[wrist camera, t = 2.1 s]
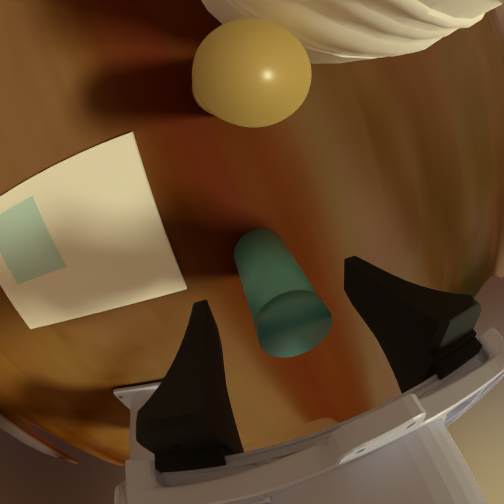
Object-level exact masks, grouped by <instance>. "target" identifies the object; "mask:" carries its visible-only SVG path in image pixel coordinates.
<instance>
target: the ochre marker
mask: <svg viewBox="0 0 504 504" xmlns="http://www.w3.org/2000/svg"><path fill="white" fill-rule="evenodd" d="M310 83H311V65H310V61H309V57H308V55H307V52H306V50H305V49H304V47H303V45H302V44H301V43H300V41H299V40H298V39H297V38H296V37H295V36H294V35H293V34H292V33H291V32H289V31H288V30H287V29H285V28H284V27H282V26H280V25H278V24H276V23H273V22H270V21H267V20H262V19H253V18H248V19H239V20H234V21H231V22H228V23H226V24H223V25H221V26H219V27H218V28H216V29H215V30H213V31H212V32H211V33H210V34H209V35H208V36H207V37H206V38H205V39H204V40H203V41H202V43H201V44H200V46H199V47H198V49H197V52H196V54H195V57H194V60H193V67H192V93H193V97H194V99H195V101H196V103H197V104H198V105H199V106H200V107H201V108H202V109H203V110H204V111H206V112H208V113H210V114H212V115H215V116H216V117H218V118H220V119H222V120H224V121H226V122H229V123H232V124H235V125H239V126H244V127H263V126H268V125H272V124H275V123H278V122H280V121H282V120H284V119H286V118H287V117H289V116H290V115H291V114H293V113H294V112H295V111H296V110H297V109H298V108H299V107H300V105H301V104H302V103H303V101H304V99H305V98H306V96H307V93H308V91H309V88H310Z"/></svg>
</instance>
